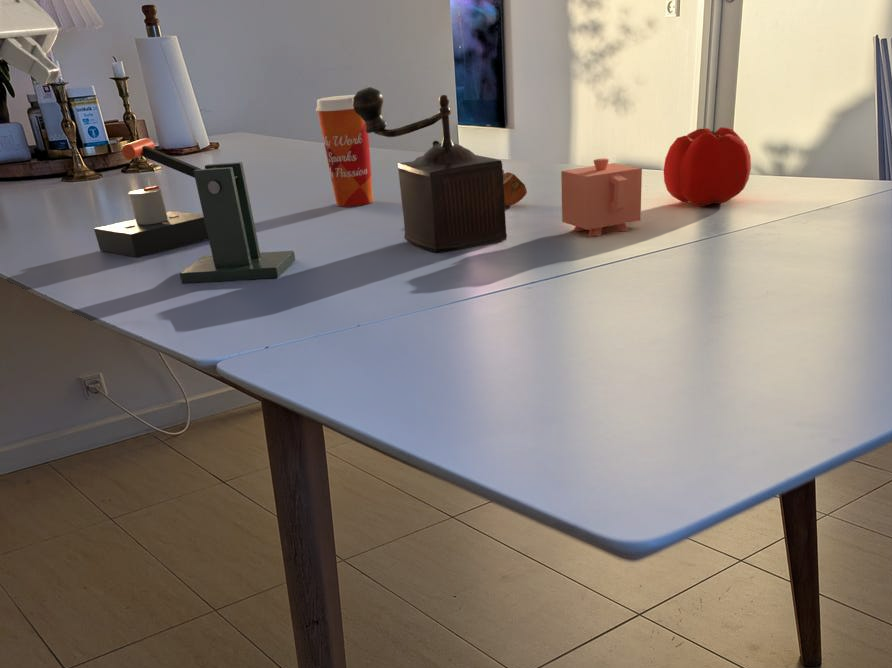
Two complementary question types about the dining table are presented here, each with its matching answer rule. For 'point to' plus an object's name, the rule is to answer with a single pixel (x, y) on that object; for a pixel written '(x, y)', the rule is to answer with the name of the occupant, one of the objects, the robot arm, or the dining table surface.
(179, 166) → the lever
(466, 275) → the dining table surface
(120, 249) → the dial panel
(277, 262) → the switch bracket
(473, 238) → the brown coffee grinder
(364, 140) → the coffee cup
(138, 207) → the knob
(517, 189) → the bread roll
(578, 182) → the pink cube teapot
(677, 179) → the tomato
